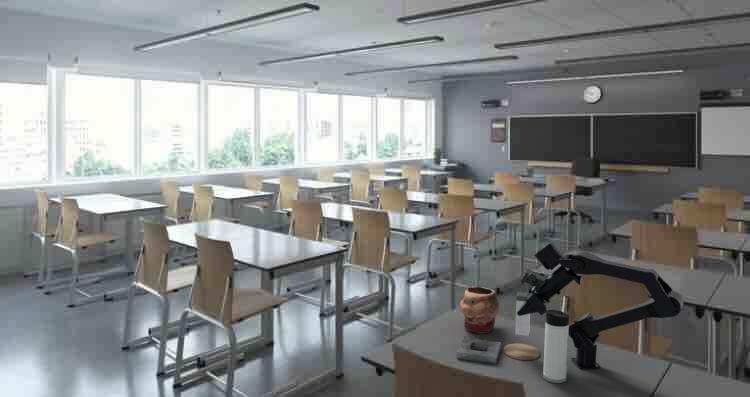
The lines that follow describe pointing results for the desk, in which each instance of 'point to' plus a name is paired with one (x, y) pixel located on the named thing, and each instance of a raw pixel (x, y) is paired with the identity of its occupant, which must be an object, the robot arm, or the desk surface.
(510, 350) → the walnut coaster
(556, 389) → the desk surface
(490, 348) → the grey flat square frame
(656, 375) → the desk surface
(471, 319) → the decorative planter
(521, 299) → the grey square bar
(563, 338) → the travel mug
